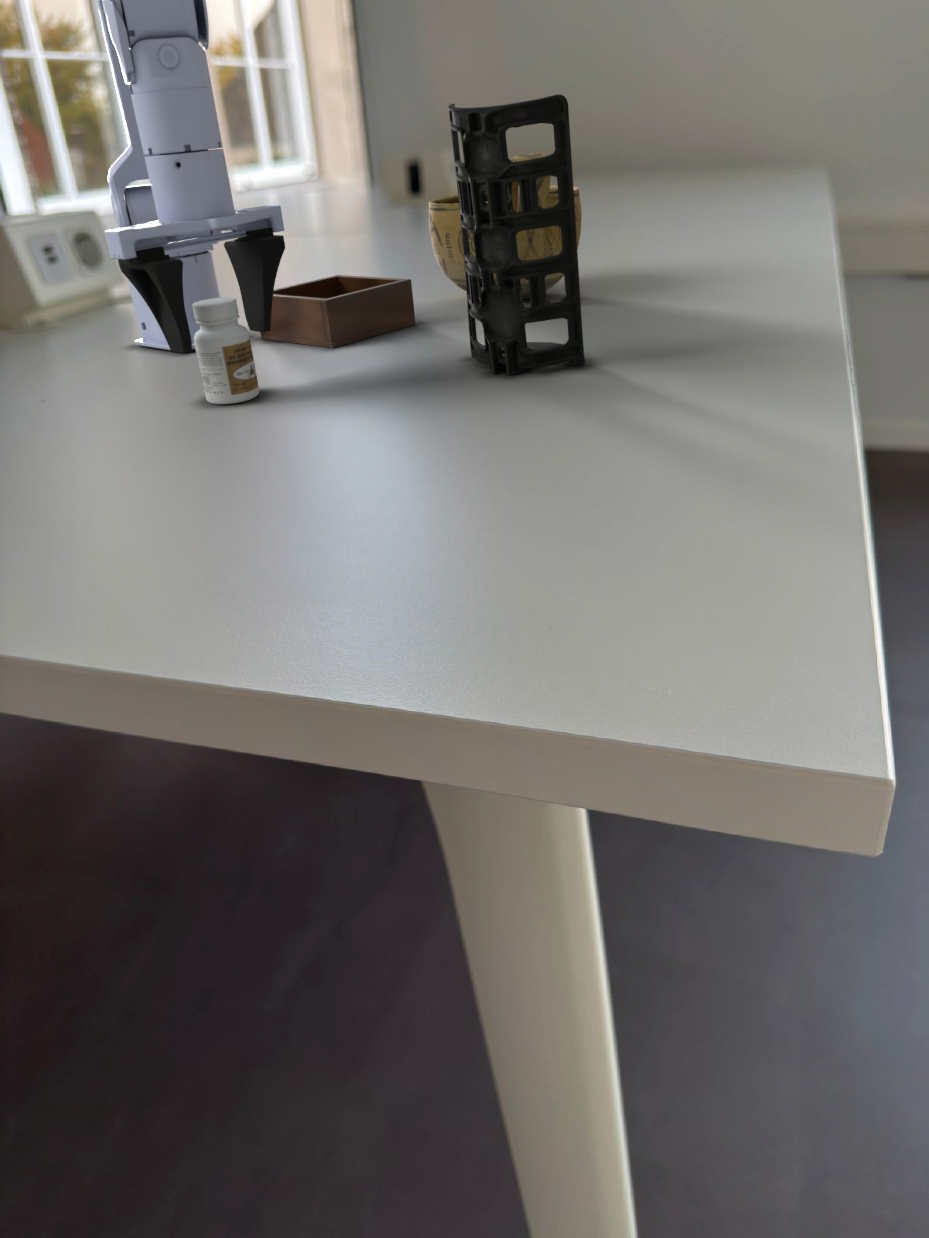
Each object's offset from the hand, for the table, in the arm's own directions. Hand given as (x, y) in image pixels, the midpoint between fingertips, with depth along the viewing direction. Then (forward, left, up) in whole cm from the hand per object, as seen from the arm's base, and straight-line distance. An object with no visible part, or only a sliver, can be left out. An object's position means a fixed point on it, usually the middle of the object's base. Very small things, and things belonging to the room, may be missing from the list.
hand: (222, 340), depth 76 cm
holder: (+16, +18, -5) cm, 25 cm away
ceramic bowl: (-6, +43, -5) cm, 44 cm away
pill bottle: (0, 0, -5) cm, 5 cm away
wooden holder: (-12, +22, -5) cm, 26 cm away
